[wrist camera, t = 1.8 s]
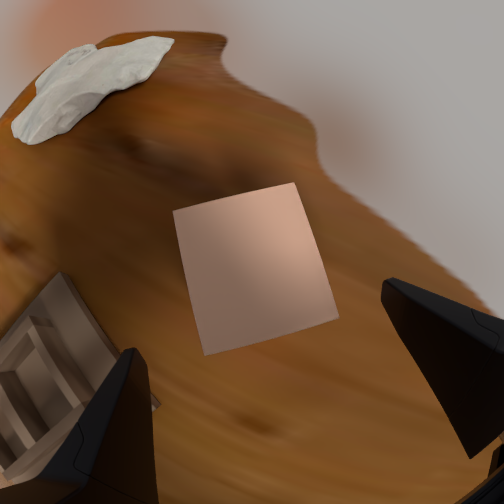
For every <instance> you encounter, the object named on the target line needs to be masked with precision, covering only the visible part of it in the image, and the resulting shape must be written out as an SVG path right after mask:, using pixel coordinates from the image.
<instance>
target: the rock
mask: <svg viewBox="0 0 504 504" xmlns="http://www.w3.org/2000/svg"><path fill="white" fill-rule="evenodd" d="M173 43H174V39H171V38H163V37H156V36H151V37H147V38H143V39H139V40H136V41H133V42H130V43H127V44H124V45H120V46H113V47H105V48H102V49H100V50H97V48H96V46H95V45H94V44H87V45H83V46H81V47H78V48H73V49H71V50H70V51H68V53H66V54H65V55H64V56H62V57H61V58H60V59H58V60H57V61H56V62H55V63H53V64H52V65H51V66H50V67H49V68H48V69H46V70H45V72H44V73H43V74H42V75H41V76H40V77H39V78H38V80H37V81H36V83H35V86H36V89H37V93H36V94H37V95H36V97H35V98H34V99H33V100H32V102H31V103H30V104H29V105H28V106H27V107H26V108H25V109H24V110H23V111H22V113H21V114H20V115H19V116H18V117H17V118H16V119H15V120H13V122H12V125H11V128H12V131H13V135H14V137H15V138H19V139H20V140H21V141H22V142H24V143H27V144H28V145H33V144H38V143H41V142H43V141H45V140H47V139H49V138H51V137H53V136H55V135H57V134H62V133H66V132H67V131H69V130H70V129H71V128H72V127H73V126H74V125H75V124H76V123H77V122H78V121H79V120H81V119H82V118H83V117H84V116H85V115H87V114H88V113H89V112H91V111H92V110H94V109H95V108H96V107H97V105H98V104H99V103H100V102H101V100H102V99H103V98H104V97H105V96H106V95H108V94H109V93H111V92H113V91H116V90H123V89H127V88H129V87H131V86H133V85H135V84H137V83H140V82H144V81H145V80H147V79H148V77H149V76H150V75H151V74H152V73H153V71H154V70H155V69H156V68H157V66H158V65H159V63H160V61H161V59H162V57H163V56H164V55H165V54H166V53H167V52H168V51H169V50H170V48H171V45H172V44H173ZM82 72H83V73H82ZM102 85H103V86H102Z"/></svg>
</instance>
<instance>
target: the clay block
mask: <svg viewBox="0 0 504 504" xmlns="http://www.w3.org/2000/svg"><path fill="white" fill-rule="evenodd" d="M173 215H174V221H175V227H176V232H177V237H178V243H179V248H180V253H181V258H182V263H183V267H184V272H185V277H186V281H187V286H188V290H189V295H190V299H191V304H192V308H193V312H194V316H195V320H196V324H197V329H198V332H199V336H200V340H201V344H202V348H203V352H204V356H205V355H210V354H214V353H218V352H222V351H227V350H231V349H235V348H239V347H243V346H247V345H250V344H254V343H258V342H262V341H265V340H269V339H273V338H276V337H280V336H283V335H286V334H290V333H293V332H297V331H300V330H303V329H306V328H310V327H313V326H316V325H319V324H322V323H325V322H328V321H331V320H334V319H337V318H339V315H338V311H337V308H336V304H335V301H334V298H333V295H332V291H331V288H330V285H329V282H328V279H327V275H326V272H325V269H324V266H323V263H322V260H321V257H320V254H319V251H318V248H317V245H316V242H315V239H314V236H313V233H312V230H311V228H310V225H309V222H308V219H307V216H306V213H305V211H304V208H303V205H302V202H301V200H300V197H299V194H298V192H297V189H296V186H295V184H294V183H289V184H284V185H279V186H274V187H270V188H265V189H260V190H256V191H252V192H247V193H243V194H238V195H234V196H230V197H226V198H222V199H217V200H213V201H209V202H205V203H201V204H197V205H194V206H190V207H186V208H182V209H178V210H175V211H173Z"/></svg>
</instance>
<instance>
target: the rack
mask: <svg viewBox="0 0 504 504" xmlns="http://www.w3.org/2000/svg"><path fill="white" fill-rule="evenodd" d="M119 357H120V354H119V353H118V352H117V350H116V349H115V347H114V346H113V345H112V343H111V342H110V341H109V339H108V338H107V336H106V335H105V333H104V332H103V331H102V329H101V328H100V326H99V325H98V323H97V322H96V320H95V319H94V317H93V316H92V314H91V313H90V311H89V309H88V308H87V306H86V305H85V303H84V302H83V300H82V298H81V297H80V295H79V293H78V292H77V290H76V288H75V287H74V285H73V283H72V281H71V280H70V278H69V276H68V275H67V274H65V273H62V272H60V271H59V273H58V274H57V275H56V276H55V277H54V278H53V279H52V280H51V281H50V282H49V283H48V284H47V285H46V286H45V288H44V289H43V290H42V291H41V292H40V293H39V294H38V295H37V297H36V298H35V299H34V300H33V301H32V302H31V303H30V305H29V306H28V307H27V308H26V309H25V311H24V312H23V313H22V314H21V315H20V317H19V318H18V319H17V320H16V321H15V323H14V324H13V325H12V326H11V328H10V329H9V330H8V332H7V333H6V334H5V335H4V337H3V338H2V339H1V341H0V471H1V473H2V474H3V475H4V477H5V478H6V480H7V481H9V480H12V481H13V482H14V484H18V483H22V482H25V481H28V480H30V479H32V478H34V477H36V476H37V475H38V474H39V473H40V472H41V471H42V470H43V469H44V467H45V466H46V465H47V463H48V462H49V461H50V459H51V458H52V457H53V455H54V454H55V453H56V451H57V450H58V449H59V447H60V446H61V444H62V443H63V442H64V440H65V439H66V437H67V436H68V434H69V433H70V431H71V430H72V428H73V427H74V425H75V423H76V422H78V419H79V417H80V416H81V414H82V413H83V411H84V409H85V408H86V406H87V405H88V403H89V402H90V400H91V399H92V397H93V396H94V394H95V393H96V391H97V390H98V388H99V386H100V385H101V383H102V382H103V381H104V379H105V378H106V376H107V375H108V373H109V372H110V370H111V369H112V367H113V366H114V364H115V363H116V361H117V360H118V358H119ZM150 394H151V393H150ZM151 402H152V412H153V411H154V410H155V409H157V408H158V407H159V406H160V405H161V404H160V403H159V402H158V401H157V400H156V398H155V397H154V396H153V395H152V394H151Z"/></svg>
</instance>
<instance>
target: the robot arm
mask: <svg viewBox="0 0 504 504" xmlns="http://www.w3.org/2000/svg"><path fill="white" fill-rule="evenodd" d="M381 302H382V305H383V306H384V308H385V310H386V312H387V314H388V316H389V318H390V320H391V322H392V324H393V326H394V328H395V330H396V331H397V333H398V335H399V337H400V338H401V340H402V341H403V343H404V345H405V346H406V348H407V349H408V351H409V352H410V354H411V356H412V357H413V359H414V360H415V362H416V364H417V365H418V367H419V368H420V370H421V372H422V373H423V375H424V377H425V378H426V380H427V382H428V383H429V385H430V387H431V388H432V390H433V392H434V394H435V395H436V397H437V399H438V401H439V402H440V404H441V406H442V408H443V409H444V411H445V413H446V415H447V417H448V418H449V421H450V422H451V424H452V426H453V428H454V430H455V432H456V434H457V436H458V438H459V439H460V441H461V443H462V445H463V447H464V449H465V451H466V453H467V455H468V457H469V459H472V458H473V457H474V456H476V455H477V454H478V453H479V452H481V451H482V450H483V449H484V448H485V447H487V446H488V445H489V444H490V443H491V442H492V441H494V440H495V439H496V438H497V437H499V438H500V440H501V441H502V444H501V445H500V446H499V447H498V448H497V449H495V450H494V451H493V455H492V460H491V465H490V469H489V474H488V478H487V479H485V480H484V481H483V482H482V483H481V484H479V485H478V486H477V487H476V488H474V489H473V490H472V491H471V492H469V493H468V494H467V495H465V496H464V497H463V498H461V499H460V500H459V501H457V502H456V503H455V504H504V320H503V319H499V318H497V317H494V316H491V315H488V314H485V313H483V312H480V311H478V310H475V309H473V308H471V309H470V307H468V306H465V305H463V304H460V303H458V302H455V301H453V300H450V299H448V298H445V297H443V296H440V295H438V294H435V293H433V292H430V291H428V290H425V289H422V288H420V287H417V286H415V285H412V284H410V283H407V282H404V281H402V280H399V279H396V278H393V277H392V278H389V279H386V280H384V281H383V284H382V292H381ZM0 504H159V502H158V493H157V484H156V473H155V460H154V445H153V424H152V402H151V394H150V386H149V378H148V368H147V364H146V362H145V360H144V359H143V357H142V356H141V354H140V353H139V351H138V350H137V349H136V348H129V349H125V350H124V351H123V353H122V354H121V356H120V357H119V358H118V360H117V361H116V363H115V364H114V366H113V367H112V369H111V370H110V372H109V373H108V375H107V376H106V378H105V379H104V381H103V382H102V383H101V385H100V386H99V388H98V390H97V391H96V393H95V394H94V396H93V397H92V399H91V400H90V402H89V403H88V405H87V406H86V408H85V409H84V411H83V413H82V414H81V416H80V417H79V419H78V422H76V423H75V425H74V427H73V428H72V430H71V431H70V433H69V434H68V436H67V437H66V439H65V440H64V442H63V443H62V444H61V446H60V447H59V449H58V450H57V451H56V453H55V454H54V455H53V457H52V458H51V459H50V461H49V462H48V463H47V465H46V466H45V467H44V469H43V470H42V471H41V472H40V473H39V474H38V475H37V476H36V477H34V478H32V479H30V480H28V481H25V482H22V483H18V484H15V485H12V486H9V487H5V488H2V489H0Z"/></svg>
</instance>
